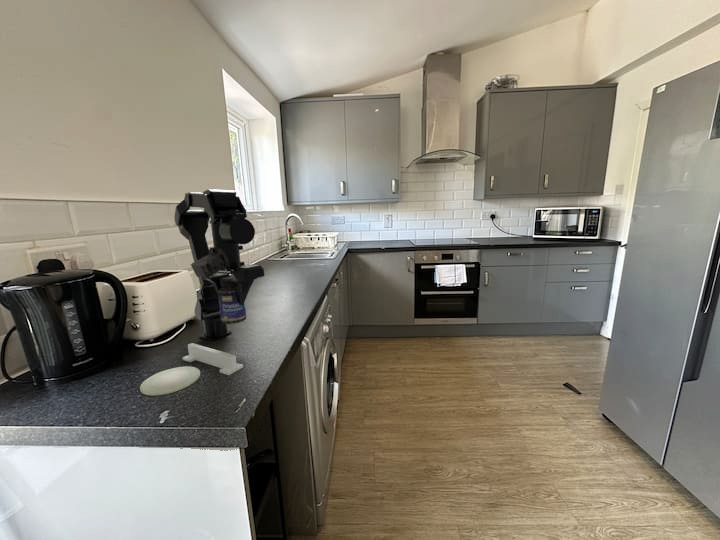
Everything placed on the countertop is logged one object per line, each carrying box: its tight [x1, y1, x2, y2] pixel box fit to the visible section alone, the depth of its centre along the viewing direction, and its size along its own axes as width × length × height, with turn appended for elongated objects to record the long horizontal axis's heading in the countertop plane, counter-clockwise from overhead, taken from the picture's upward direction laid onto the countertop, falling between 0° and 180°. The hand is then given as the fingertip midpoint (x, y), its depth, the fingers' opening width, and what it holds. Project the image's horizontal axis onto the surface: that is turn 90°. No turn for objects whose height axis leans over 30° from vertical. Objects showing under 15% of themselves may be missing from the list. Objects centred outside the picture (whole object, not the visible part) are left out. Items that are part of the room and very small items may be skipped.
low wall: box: [182, 342, 244, 376], centre depth 71 cm, size 17×4×4 cm, turn 62°
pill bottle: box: [218, 276, 247, 325], centre depth 76 cm, size 6×6×11 cm
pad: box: [139, 365, 201, 397], centre depth 64 cm, size 11×11×1 cm
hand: (232, 303), depth 76 cm, fingers closed on pill bottle, 6 cm apart
